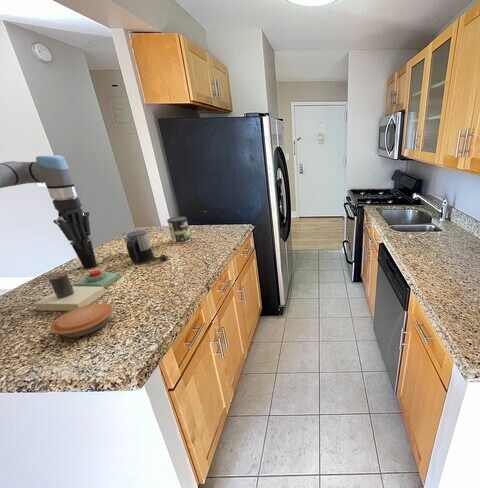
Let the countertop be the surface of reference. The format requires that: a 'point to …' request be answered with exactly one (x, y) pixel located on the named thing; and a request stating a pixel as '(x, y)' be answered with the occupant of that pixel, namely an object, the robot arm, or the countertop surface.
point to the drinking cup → (86, 260)
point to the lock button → (95, 273)
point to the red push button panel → (98, 280)
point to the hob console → (71, 299)
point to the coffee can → (179, 229)
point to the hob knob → (61, 285)
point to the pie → (83, 320)
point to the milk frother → (140, 247)
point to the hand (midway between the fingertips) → (86, 254)
